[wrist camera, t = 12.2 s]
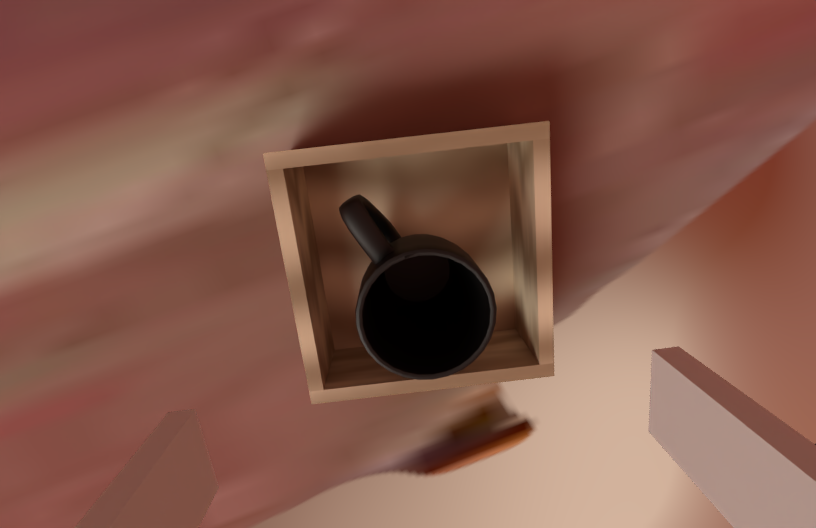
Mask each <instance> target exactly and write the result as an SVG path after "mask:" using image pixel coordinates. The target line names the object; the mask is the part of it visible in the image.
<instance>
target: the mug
mask: <svg viewBox="0 0 816 528" xmlns="http://www.w3.org/2000/svg"><path fill="white" fill-rule="evenodd" d="M339 212H340V215H341V218H342V220H343V222H344V223H345V225H346V227H347V228H348V230H349V231H350V233H351V234H352V235H353V237H354V238H355V240H356V241H357V242H358V244H359V245H360V246H361V248H362V249H363V250H364V252H365V253H366V254H367V256H368V257H369V258H370V259H371V261H372V262H371V263H370V264H369V266H368V268H367V270H366V272H365V274H364V276H363V278H362V281H361V285H360V290H359V295H358V299H357V304H356V309H355V315H356V327H357V330H358V334H359V337H360V340H361V342H362V343H363V345H364V347H365V349H366V350H367V352H368V353H369V354H370V355H371V356H372V358H373V359H374V360H375V361H376V362H377V363H378V364H380V365H381V366H383V367H384V368H385V369H387V370H388V371H390V372H392V373H395V374H397V375H400V376H402V377H406V378H411V379H416V380H434V379H438V378H443V377H447V376H450V375H452V374H454V373H457V372H459V371H461V370H463V369H464V368H466V367H467V366H468V365H470V364H471V363H472V362H474V361H475V360H476V359H477V358H478V357H479V355H480V354H481V353H482V352H483V351H484V350H485V348H486V346H487V344H488V343H489V341H490V339H491V337H492V334H493V331H494V327H495V324H496V313H497V306H496V301H495V295H494V292H493V290H492V287H491V285H490V283H489V281H488V279H487V277H486V276H485V275H484V273H483V272H482V270H481V269H480V268H479V267H478V265H477V264H476V263H475V261H474V260H473V259H472V258H471V256H470V255H469V254H468V253H467V252H465V251H464V250H463V249H462V248H460V247H459V246H458V245H456V244H455V243H453V242H451V241H448V240H446V239H444V238H442V237H438V236H434V235H429V234H413V235H409V236H404V237H401V236H400V234H399V233H398V232H397V230H396V229H395V227H394V226H393V225H392V224H391V222H390V221H389V220H388V219H387V218H386V217H385V216H384V215H383V214H382V213H381V212H380V211H379V210H378V209H377V208H376V207H375V206H374V205H373V204H372V203H371V202H370V201H369V200H368V199H366V198H365V197H363V196H362V195H360V194H358V195H355V196H353V197H351V198H349V199H348V200H346V201H345V202H344V203H342V205H341V206H340V207H339Z"/></svg>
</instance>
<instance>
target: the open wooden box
mask: <svg viewBox="0 0 816 528" xmlns="http://www.w3.org/2000/svg"><path fill="white" fill-rule="evenodd" d="M263 157H264V162H265V167H266V173H267V178H268V183H269V188H270V193H271V198H272V203H273V208H274V214H275V219H276V224H277V229H278V234H279V239H280V244H281V249H282V255H283V260H284V265H285V270H286V275H287V280H288V285H289V290H290V296H291V301H292V306H293V311H294V316H295V321H296V326H297V331H298V337H299V342H300V347H301V352H302V357H303V362H304V367H305V372H306V378H307V383H308V388H309V393H310V398H311V403H312V404H319V403H327V402H336V401H344V400H353V399H361V398H370V397H378V396H387V395H395V394H404V393H413V392H421V391H430V390H438V389H447V388H455V387H464V386H472V385H481V384H489V383H498V382H506V381H515V380H524V379H532V378H541V377H549V376H554V340H553V339H554V338H553V282H552V227H551V173H550V121H543V122H534V123H526V124H517V125H508V126H499V127H490V128H481V129H473V130H464V131H455V132H446V133H437V134H429V135H420V136H411V137H402V138H393V139H384V140H376V141H367V142H358V143H349V144H340V145H331V146H323V147H314V148H305V149H296V150H287V151H279V152H270V153H263ZM358 194H360V195H362V196H363V197H365V198H366V199H368V200H369V201H370V202H371V203H372V204H373V205H374V206H375V207H376V208H377V209H378V210H379V211H380V212H381V213H382V214H383V215H384V216H385V217H386V218H387V219H388V220H389V221H390V222H391V224H392V225H393V226H394V227H395V229H396V230H397V232H398V233H399V234H400V236H401V237H404V236H409V235H413V234H429V235H434V236H438V237H442V238H444V239H446V240H448V241H451V242H453V243H455V244H456V245H458V246H459V247H460V248H462V249H463V250H464V251H465V252H467V253H468V254H469V255H470V256H471V258H472V259H473V260H474V261H475V263H476V264H477V265H478V267H479V268H480V269H481V270H482V272H483V273H484V275H485V276H486V277H487V279H488V281H489V283H490V285H491V287H492V290H493V292H494V295H495V301H496V306H497V313H496V324H495V327H494V331H493V334H492V337H491V339H490V341H489V343H488V344H487V346H486V348H485V350H484V351H483V352H482V353H481V354H480V355H479V357H478V358H477V359H476V360H475V361H474V362H472V363H471V364H470V365H468V366H467V367H466V368H464V369H463V370H461V371H459V372H457V373H454V374H452V375H450V376H447V377H443V378H438V379H434V380H416V379H411V378H406V377H402V376H400V375H397V374H395V373H392V372H390V371H388V370H387V369H385V368H384V367H383V366H381V365H380V364H378V363H377V362H376V361H375V360H374V359H373V358H372V356H371V355H370V354H369V353H368V352H367V350H366V349H365V347H364V345H363V343H362V342H361V340H360V337H359V334H358V330H357V327H356V315H355V309H356V304H357V299H358V295H359V290H360V285H361V281H362V278H363V276H364V274H365V272H366V270H367V268H368V266H369V264H370V263H371V262H372V261H371V259H370V258H369V257H368V256H367V254H366V253H365V252H364V250H363V249H362V248H361V246H360V245H359V244H358V242H357V241H356V240H355V238H354V237H353V235H352V234H351V233H350V231H349V230H348V228H347V227H346V225H345V223H344V222H343V220H342V218H341V215H340V212H339V207H340V206H341V205H342V203H344V202H345V201H346V200H348V199H349V198H351V197H353V196H355V195H358Z"/></svg>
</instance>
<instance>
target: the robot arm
mask: <svg viewBox="0 0 816 528" xmlns="http://www.w3.org/2000/svg"><path fill="white" fill-rule="evenodd" d="M650 389H651V390H650V412H649V432H650V434H651V435H652V436H653V437H654V438H655V439H656V440H657V441H658V443H659V444H660V445H661V446H662V447H663V448H664V449H665V450H666V452H667V453H668V454H669V455H670V456H671V457H672V458H673V460H675V462H676V463H677V464H678V465H679V466H680V467H681V468H682V470H683V471H684V472H685V473H686V474H687V475H688V477H690V479H691V480H692V481H693V482H694V483H695V484H696V486H697V487H698V488H699V489H700V490H701V491H702V492H703V493H704V494H705V496H706V497H707V498H708V499H709V500H710V501H711V503H712V504H713V505H714V506H715V507H716V508H717V509H718V510H719V512H720V513H721V514H722V515H723V516H724V517H725V518H726V519H727V521H728V522H729V523H730V524H731V525H732V526H733V527H734V528H816V444H814V443H812V442H811V441H809V440H808V439H806V438H805V437H804V436H802V435H801V434H800V433H798V432H797V431H795V430H794V429H793V428H791V427H790V426H788V425H787V424H785V423H784V422H783V421H781V420H780V419H779V418H777V417H776V416H774V415H773V414H772V413H770V412H769V411H768V410H766V409H765V408H763V407H762V406H761V405H759V404H758V403H756V402H755V401H754V400H752V399H751V398H750V397H748V396H747V395H745V394H744V393H743V392H741V391H740V390H738V389H737V388H736V387H734V386H733V385H731V384H730V383H729V382H727V381H726V380H724V379H723V378H722V377H720V376H719V375H718V374H716V373H715V372H713V371H712V370H710V369H709V368H708V367H706V366H705V365H703V364H702V363H701V362H699V361H698V360H697V359H695V358H694V357H692V356H691V355H689V354H688V353H687V352H685V351H684V350H683V349H681V348H680V347H672V348H664V349H656V350H652V364H651V388H650ZM218 488H219V486H218V483H217V480H216V476H215V473H214V470H213V467H212V463H211V460H210V457H209V453H208V450H207V447H206V443H205V440H204V437H203V433H202V430H201V427H200V423H199V420H198V417H197V414H196V410H195V409H191V410H183V411H175V412H168V413H167V415H166V416H165V417H164V418H163V420H162V421H161V422H160V423H159V424H158V426H157V427H156V428H155V429H154V431H153V432H152V433H151V434H150V436H149V437H148V438H147V439H146V440H145V442H144V443H143V444H142V445H141V447H140V448H139V449H138V450H137V452H136V453H135V454H134V455H133V456H132V458H131V459H130V460H129V461H128V463H127V464H126V465H125V466H124V468H123V469H122V470H121V471H120V472H119V474H118V475H117V476H116V477H115V479H114V480H113V481H112V482H111V484H110V485H109V486H108V487H107V488H106V490H105V491H104V492H103V493H102V495H101V496H100V497H99V498H98V500H97V501H96V502H95V503H94V504H93V506H92V507H91V508H90V509H89V511H88V512H87V513H86V514H85V516H84V517H83V518H82V519H81V520H80V522H79V523H78V524H77V525H76V527H75V528H199V526H200V524H201V522H202V520H203V518H204V516H205V514H206V512H207V510H208V508H209V506H210V504H211V502H212V500H213V498H214V496H215V494H216V492H217V490H218Z"/></svg>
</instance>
